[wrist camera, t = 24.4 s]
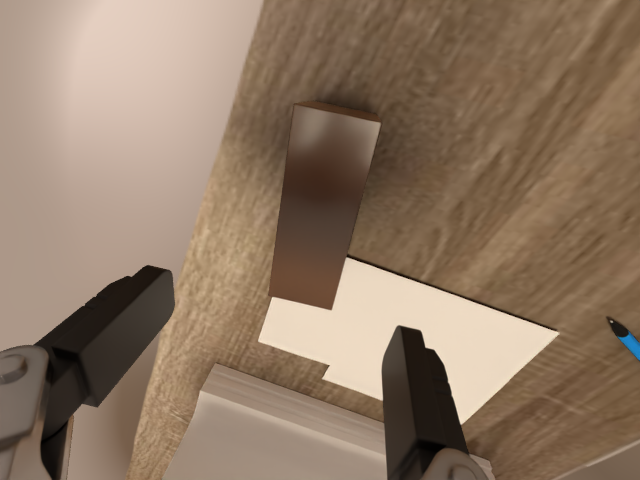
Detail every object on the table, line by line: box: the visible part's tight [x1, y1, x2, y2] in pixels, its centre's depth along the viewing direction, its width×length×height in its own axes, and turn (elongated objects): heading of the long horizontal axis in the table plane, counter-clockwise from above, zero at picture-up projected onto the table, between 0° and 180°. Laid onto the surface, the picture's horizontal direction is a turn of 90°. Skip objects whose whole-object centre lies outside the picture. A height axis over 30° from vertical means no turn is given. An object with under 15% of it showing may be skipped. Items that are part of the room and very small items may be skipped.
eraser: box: [268, 101, 382, 310], centre depth 20 cm, size 12×4×6 cm, turn 169°
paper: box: [258, 257, 559, 425], centre depth 28 cm, size 25×17×1 cm
